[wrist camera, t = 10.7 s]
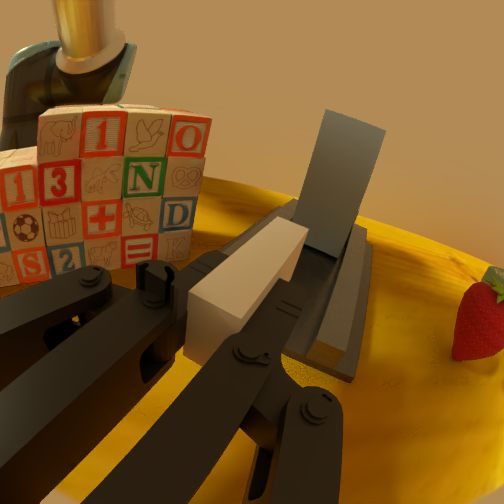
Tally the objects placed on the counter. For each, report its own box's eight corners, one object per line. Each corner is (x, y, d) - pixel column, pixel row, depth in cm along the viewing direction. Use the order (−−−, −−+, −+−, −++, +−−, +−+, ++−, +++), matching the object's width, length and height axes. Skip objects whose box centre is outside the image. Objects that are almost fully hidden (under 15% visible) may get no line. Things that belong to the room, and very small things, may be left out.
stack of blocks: (-35, 295, 11) (-70, 142, 5) (-21, 253, 15) (-38, 125, 9) (190, 259, 24) (215, 115, 17) (168, 226, 28) (185, 107, 21)
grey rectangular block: (286, 236, 29) (325, 109, 22) (299, 222, 33) (333, 113, 26) (338, 258, 28) (385, 130, 21) (343, 241, 32) (383, 132, 25)
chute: (169, 293, 19) (173, 238, 17) (278, 209, 38) (287, 179, 36) (349, 382, 15) (387, 337, 13) (370, 249, 34) (384, 219, 32)
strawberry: (463, 337, 22) (513, 261, 17) (481, 390, 15) (549, 307, 10) (426, 325, 22) (478, 240, 17) (442, 383, 16) (519, 287, 11)
